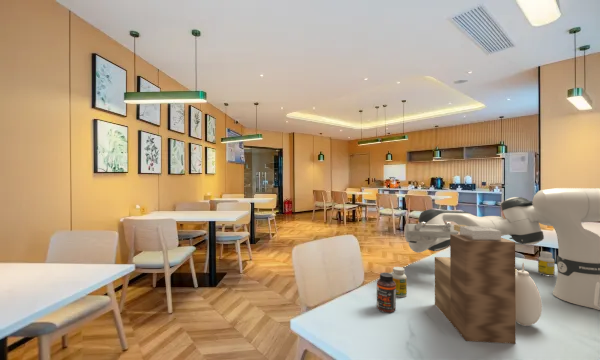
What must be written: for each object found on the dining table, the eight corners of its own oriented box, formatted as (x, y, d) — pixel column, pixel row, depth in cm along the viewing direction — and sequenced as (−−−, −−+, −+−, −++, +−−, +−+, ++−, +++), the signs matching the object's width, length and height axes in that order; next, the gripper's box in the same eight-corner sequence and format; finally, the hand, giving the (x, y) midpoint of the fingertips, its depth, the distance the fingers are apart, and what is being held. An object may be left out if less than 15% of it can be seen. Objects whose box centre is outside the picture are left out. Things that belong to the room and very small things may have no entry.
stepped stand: (472, 306, 90) (472, 227, 90) (515, 343, 69) (515, 242, 69) (434, 304, 92) (434, 227, 92) (466, 340, 71) (465, 241, 71)
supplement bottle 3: (535, 272, 123) (534, 250, 123) (548, 272, 122) (548, 251, 122) (544, 276, 118) (543, 254, 118) (558, 277, 117) (557, 254, 117)
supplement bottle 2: (397, 290, 103) (397, 265, 103) (409, 295, 99) (409, 269, 99) (388, 293, 100) (388, 267, 100) (400, 298, 96) (400, 271, 96)
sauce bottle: (500, 317, 83) (499, 258, 83) (526, 317, 82) (526, 258, 83) (520, 331, 75) (519, 266, 75) (549, 332, 75) (548, 266, 75)
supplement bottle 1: (375, 311, 87) (375, 276, 87) (377, 303, 92) (377, 270, 92) (395, 314, 85) (395, 278, 85) (395, 306, 90) (395, 272, 90)
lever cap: (470, 229, 87) (470, 222, 87) (501, 240, 71) (500, 231, 71) (447, 229, 87) (447, 221, 87) (472, 240, 72) (472, 230, 72)
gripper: (452, 243, 115) (466, 232, 103) (402, 241, 117) (410, 231, 106) (449, 228, 118) (462, 216, 106) (400, 227, 121) (408, 216, 109)
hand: (436, 224), depth 106 cm, fingers open, 8 cm apart
